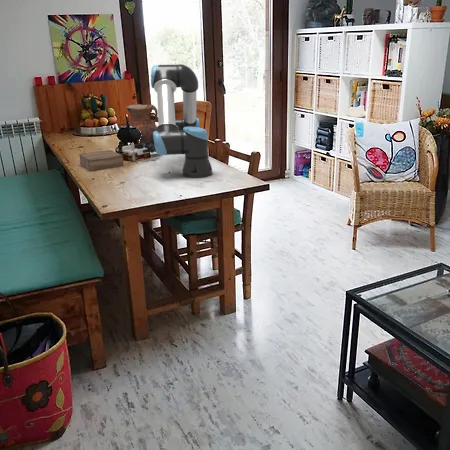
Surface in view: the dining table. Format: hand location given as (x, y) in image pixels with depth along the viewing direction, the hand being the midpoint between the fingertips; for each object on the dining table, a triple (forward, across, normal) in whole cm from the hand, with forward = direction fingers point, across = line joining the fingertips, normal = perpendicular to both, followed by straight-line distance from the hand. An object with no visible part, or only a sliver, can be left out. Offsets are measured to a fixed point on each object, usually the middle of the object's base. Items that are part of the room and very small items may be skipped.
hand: (129, 150), depth 262 cm
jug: (-37, +34, -6) cm, 50 cm away
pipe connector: (-2, 0, -6) cm, 6 cm away
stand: (+16, +5, -6) cm, 18 cm away
